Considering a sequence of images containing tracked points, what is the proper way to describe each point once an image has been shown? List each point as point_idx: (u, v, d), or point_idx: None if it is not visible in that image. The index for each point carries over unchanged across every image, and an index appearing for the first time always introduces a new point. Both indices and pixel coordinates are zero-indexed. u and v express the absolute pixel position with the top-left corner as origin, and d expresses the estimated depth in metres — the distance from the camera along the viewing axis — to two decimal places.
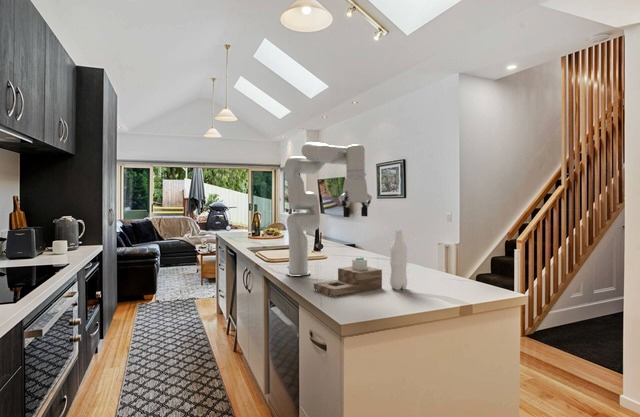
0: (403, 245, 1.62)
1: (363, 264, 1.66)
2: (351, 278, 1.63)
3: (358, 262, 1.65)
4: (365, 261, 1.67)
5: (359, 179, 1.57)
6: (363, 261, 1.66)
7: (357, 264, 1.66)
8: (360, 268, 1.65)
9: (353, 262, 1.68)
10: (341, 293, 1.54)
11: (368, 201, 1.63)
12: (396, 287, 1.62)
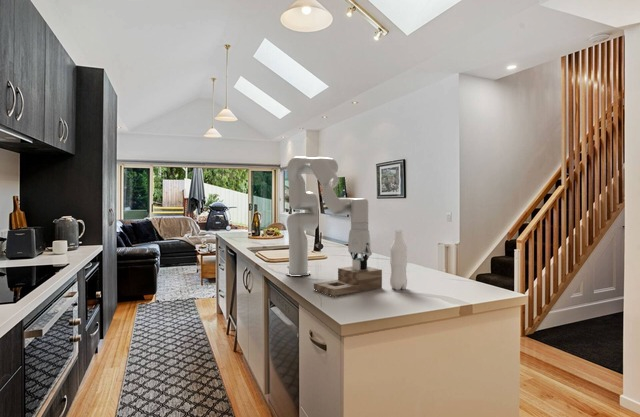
0: (403, 245, 1.62)
1: None
2: (351, 278, 1.63)
3: (358, 262, 1.65)
4: None
5: None
6: None
7: (357, 264, 1.66)
8: (360, 268, 1.65)
9: (353, 262, 1.68)
10: (341, 293, 1.54)
11: (354, 253, 1.72)
12: (396, 287, 1.62)
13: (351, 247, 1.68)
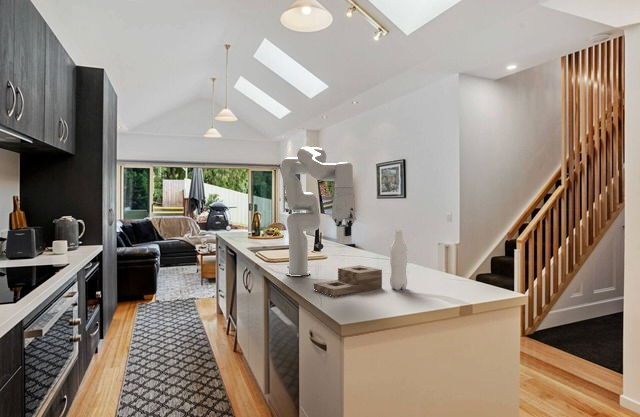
0: (403, 245, 1.62)
1: None
2: (351, 278, 1.63)
3: (342, 228, 1.60)
4: None
5: None
6: None
7: (341, 230, 1.61)
8: (344, 234, 1.60)
9: (337, 229, 1.63)
10: (341, 293, 1.54)
11: None
12: (396, 287, 1.62)
13: (335, 213, 1.63)
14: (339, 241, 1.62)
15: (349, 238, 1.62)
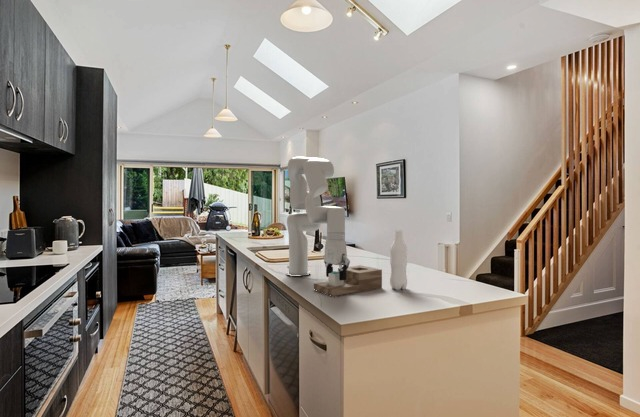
0: (403, 245, 1.62)
1: None
2: (351, 278, 1.63)
3: (334, 276, 1.58)
4: None
5: None
6: None
7: (332, 278, 1.59)
8: (336, 282, 1.58)
9: (329, 276, 1.61)
10: (341, 293, 1.54)
11: None
12: (396, 287, 1.62)
13: (327, 258, 1.61)
14: None
15: None
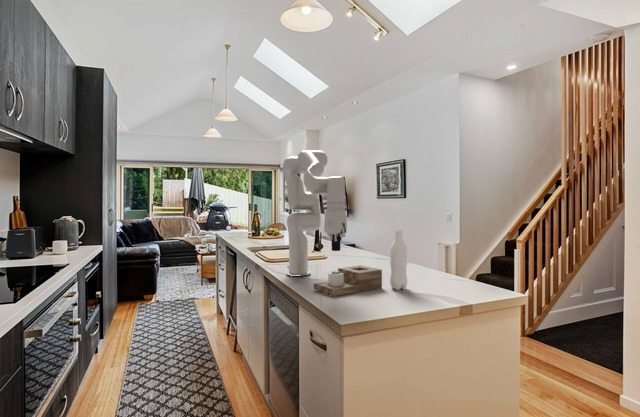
0: (403, 245, 1.62)
1: (339, 278, 1.59)
2: (351, 278, 1.63)
3: (334, 276, 1.58)
4: (341, 275, 1.60)
5: None
6: (339, 275, 1.59)
7: (332, 278, 1.59)
8: (336, 282, 1.58)
9: (329, 276, 1.61)
10: (341, 293, 1.54)
11: (334, 235, 1.63)
12: (396, 287, 1.62)
13: (327, 228, 1.61)
14: None
15: None
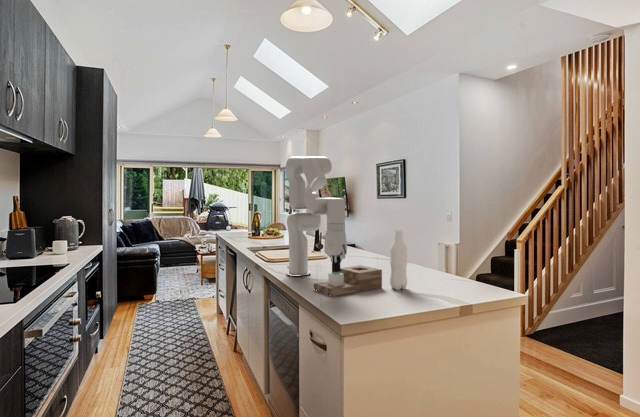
0: (403, 245, 1.62)
1: (339, 278, 1.59)
2: (351, 278, 1.63)
3: (334, 276, 1.58)
4: (341, 275, 1.60)
5: None
6: (339, 275, 1.59)
7: (332, 278, 1.59)
8: (336, 282, 1.58)
9: (329, 276, 1.61)
10: (341, 293, 1.54)
11: (334, 255, 1.63)
12: (396, 287, 1.62)
13: (327, 249, 1.61)
14: None
15: None
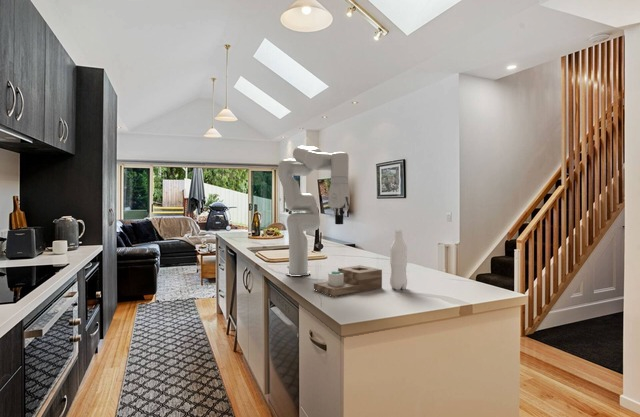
0: (403, 245, 1.62)
1: (339, 278, 1.59)
2: (351, 278, 1.63)
3: (334, 276, 1.58)
4: (341, 275, 1.60)
5: None
6: (339, 275, 1.59)
7: (332, 278, 1.59)
8: (336, 282, 1.58)
9: (329, 276, 1.61)
10: (341, 293, 1.54)
11: (338, 209, 1.68)
12: (396, 287, 1.62)
13: (331, 202, 1.66)
14: None
15: None
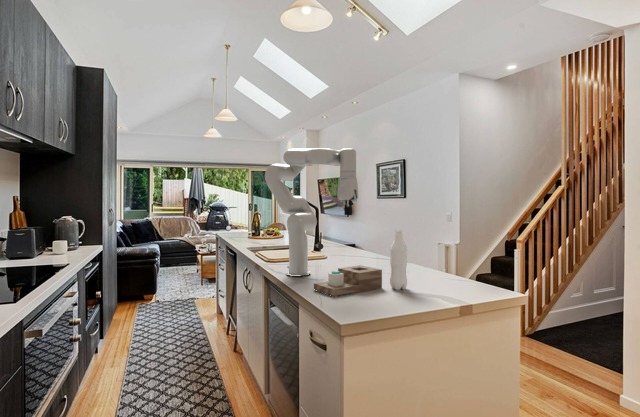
0: (403, 245, 1.62)
1: (339, 278, 1.59)
2: (351, 278, 1.63)
3: (334, 276, 1.58)
4: (341, 275, 1.60)
5: None
6: (339, 275, 1.59)
7: (332, 278, 1.59)
8: (336, 282, 1.58)
9: (329, 276, 1.61)
10: (341, 293, 1.54)
11: (346, 201, 1.82)
12: (396, 287, 1.62)
13: (340, 195, 1.80)
14: None
15: None
